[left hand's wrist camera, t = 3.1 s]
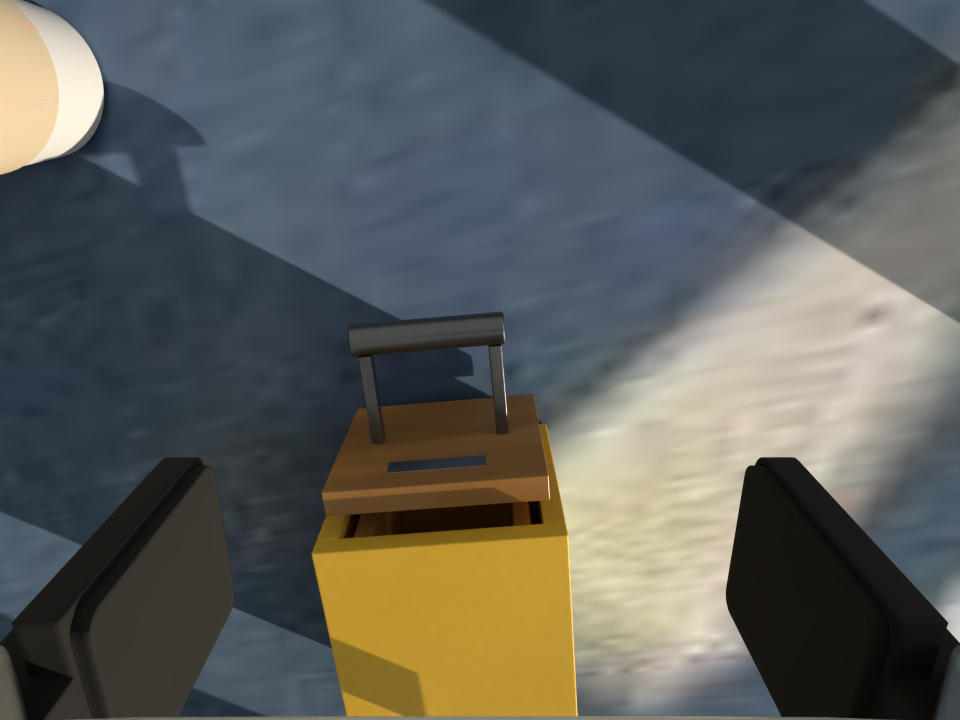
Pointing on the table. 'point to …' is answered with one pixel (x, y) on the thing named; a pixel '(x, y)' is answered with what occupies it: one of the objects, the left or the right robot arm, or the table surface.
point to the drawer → (437, 442)
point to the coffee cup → (44, 87)
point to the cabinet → (452, 616)
